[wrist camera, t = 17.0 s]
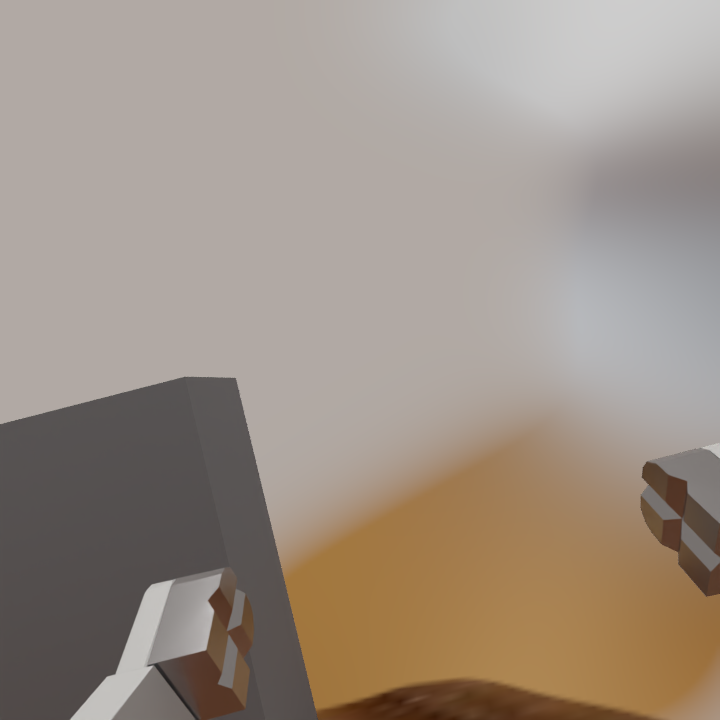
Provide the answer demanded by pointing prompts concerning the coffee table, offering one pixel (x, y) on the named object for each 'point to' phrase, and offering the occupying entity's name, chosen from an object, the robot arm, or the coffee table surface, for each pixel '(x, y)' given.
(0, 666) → the carton
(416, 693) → the coffee table surface
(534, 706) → the coffee table surface
